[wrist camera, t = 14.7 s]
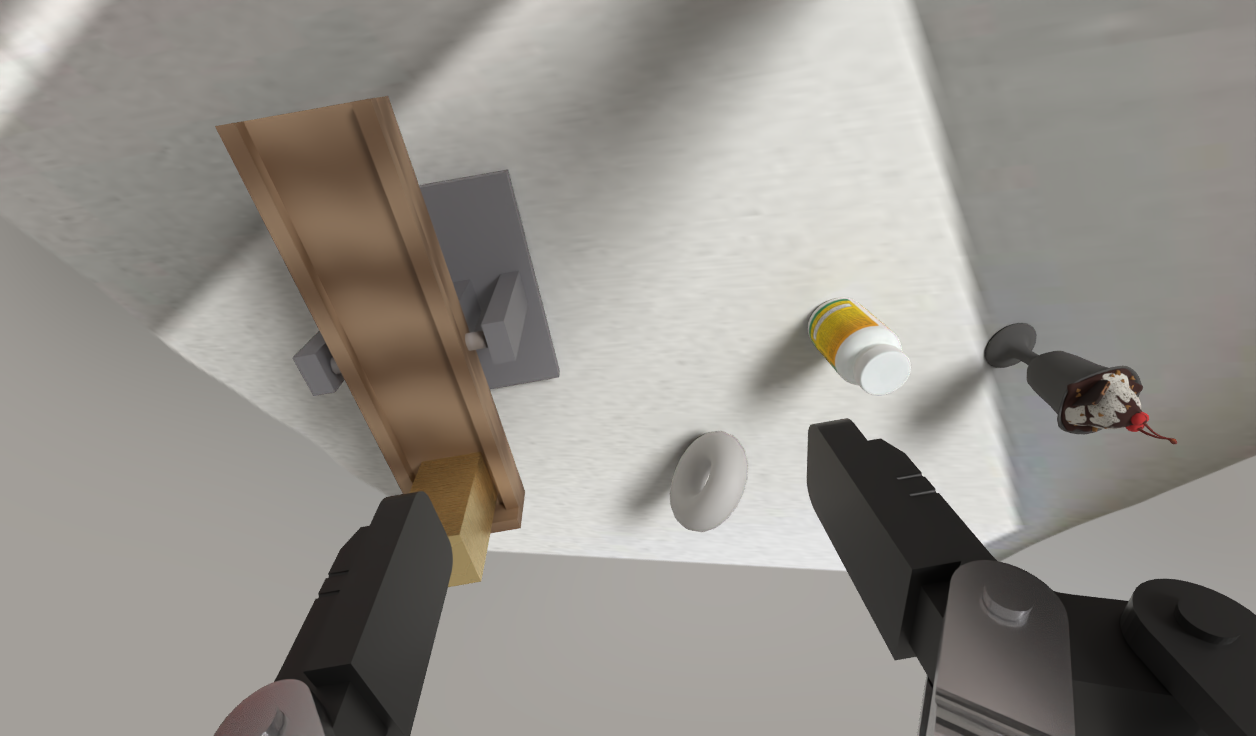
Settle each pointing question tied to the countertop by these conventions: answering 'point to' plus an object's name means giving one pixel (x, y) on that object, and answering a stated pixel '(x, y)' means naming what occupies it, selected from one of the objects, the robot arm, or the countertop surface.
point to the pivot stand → (476, 284)
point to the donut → (708, 481)
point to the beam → (377, 284)
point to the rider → (461, 509)
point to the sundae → (1074, 384)
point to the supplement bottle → (859, 346)
